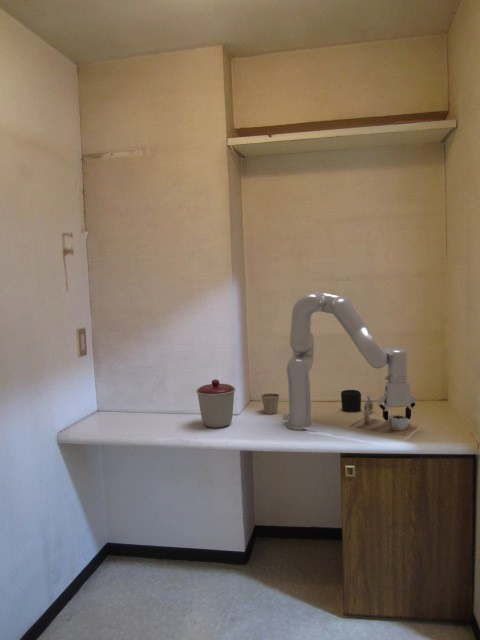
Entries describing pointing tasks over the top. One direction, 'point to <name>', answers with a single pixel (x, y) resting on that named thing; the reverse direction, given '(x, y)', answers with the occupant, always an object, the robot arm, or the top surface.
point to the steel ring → (398, 421)
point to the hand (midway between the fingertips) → (396, 419)
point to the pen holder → (351, 401)
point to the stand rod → (366, 417)
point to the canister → (216, 404)
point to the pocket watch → (368, 405)
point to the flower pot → (270, 402)
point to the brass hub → (398, 429)
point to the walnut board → (380, 426)
